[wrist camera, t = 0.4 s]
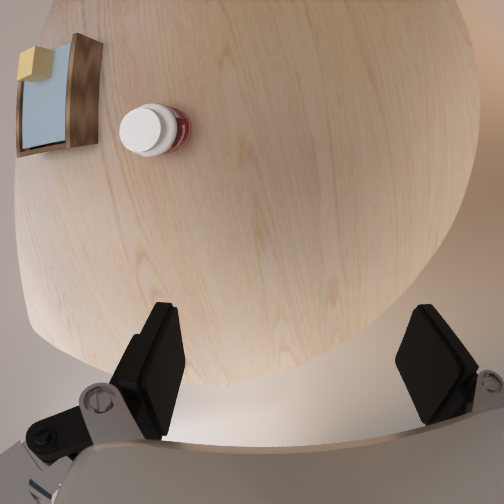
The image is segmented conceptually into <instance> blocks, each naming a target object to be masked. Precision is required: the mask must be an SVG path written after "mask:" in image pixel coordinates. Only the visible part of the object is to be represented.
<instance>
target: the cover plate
mask: <svg viewBox="0 0 504 504" xmlns="http://www.w3.org/2000/svg"><path fill="white" fill-rule="evenodd" d="M71 44H72V43H68V44H65V45H63V46H60V47H57V48H55V49H52V50H50V49H46V48H42V47H37V46H34V47H32V48H30V49H28V50H26V51H24V52H22V53H20V58H19V66H18V74H17V81H24V93H23V115H22V140H23V149H26V148H30V147H35V146H39V145H44V144H49V143H54V142H59V141H64V140H66V95H67V79H68V68H69V59H70V51H71Z"/></svg>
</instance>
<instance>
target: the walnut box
mask: <svg viewBox="0 0 504 504" xmlns="http://www.w3.org/2000/svg"><path fill="white" fill-rule="evenodd" d="M102 47H103V44H102V43H100V42H98V41H95V40H93V39H91V38H89V37H86V36H84V35H82V34H79V33H75V34H73V37H72V44H71V51H70V59H69V68H68V79H67V95H66V140H64V141H59V142H54V143H49V144H44V145H39V146H35V147H30V148H26V149H23V140H22V115H23V93H24V81H18V91H17V108H16V109H17V110H16V148H17V158H19V157H23V156H28V155H33V154H38V153H43V152H48V151H53V150H59V149H65V148H71V147H77V146H83V145H89V144H95V143H98V96H99V79H100V66H101V56H102Z"/></svg>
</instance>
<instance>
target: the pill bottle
mask: <svg viewBox="0 0 504 504" xmlns="http://www.w3.org/2000/svg"><path fill="white" fill-rule="evenodd" d="M190 131H191V127H190V122H189V119H188V118H187V116H186V115H185V114H184V113H183V112H181V111H180V110H178V109H175V108H171V107H168V106H164V105H161V104H155V103H149V104H145V105H142V106H140V107H138V108H137V109H134V110H132V111H130V112H129V113H128V114H127V115H126V116H125V117H124V118H123V120H122V122H121V125H120V130H119V133H120V139H121V141H122V143H123V145H124V146H125V147H126V148H127V149H129V150H130V151H133V152H135V153H136V154H138V155H140V156H144V157H154V156H158V155H162V154H166V153H170V152H174V151H176V150H178V149H180V148H181V147H182V146H184V144H185V143H186V142H187V140H188V138H189V136H190Z"/></svg>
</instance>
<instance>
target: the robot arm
mask: <svg viewBox="0 0 504 504" xmlns="http://www.w3.org/2000/svg"><path fill="white" fill-rule="evenodd" d="M395 364H396V366H397V368H398V370H399V372H400V375H401V377H402V379H403V381H404V383H405V385H406V387H407V390H408V392H409V394H410V396H411V398H412V401H413V403H414V405H415V407H416V410H417V412H418V414H419V417H420V419H421V421H422V423H424V424H426V426H425V427H421V428H416V429H412V430H408V431H404V432H400V433H395V434H390V435H385V436H380V437H375V438H369V439H363V440H356V441H349V442H341V443H332V444H322V445H310V446H294V447H235V446H215V445H202V444H191V443H181V442H171V441H161V439H162V435H163V436H166V435H167V433H168V430H169V426H170V422H171V418H172V414H173V410H174V406H175V403H176V399H177V395H178V391H179V387H180V383H181V380H182V376H183V372H184V368H185V355H184V349H183V343H182V336H181V330H180V323H179V316H178V309H177V307H173V305H172V303H164V302H156V304H155V306H154V308H153V309H152V311H151V313H150V315H149V317H148V319H147V321H146V323H145V325H144V327H143V329H142V331H141V333H140V334H135V335H134V336H133V337H132V339H131V341H130V343H129V344H128V346H127V348H126V350H125V352H124V354H123V356H122V358H121V360H120V362H119V364H118V366H117V368H116V370H115V372H114V374H113V376H112V378H111V380H110V382H109V384H108V383H96V384H92V385H90V386H88V387H87V388H86V389H85V390H83V392H82V393H81V395H80V398H79V406H76V407H74V408H71V409H69V410H66V411H64V412H61V413H59V414H56V415H54V416H51V417H48V418H45V419H43V420H40V421H38V422H36V423H34V424H32V425H31V427H29V429H28V431H27V433H26V441H24V442H23V443H22V442H21V441H18V442H17V443H16V444H15V445H13V446H12V447H10V448H9V449H7V450H6V451H5V452H3V453H2V454H1V455H0V504H52V503H51V498H52V495H53V494H54V492H55V491H56V490H58V489H59V490H58V493H57V496H56V499H55V502H54V504H504V382H503V379H502V378H501V377H500V376H499V375H498V374H497V373H496V372H493V371H491V370H483V371H481V372H480V373H479V374H477V373H476V371H477V370H478V368H479V366H478V365H477V363H476V362H475V360H474V359H473V357H472V356H471V355H470V353H469V352H468V351H467V349H466V348H465V347H464V345H463V344H462V342H461V341H460V340H459V338H458V337H457V336H456V335H455V333H454V332H453V330H452V329H451V328H450V327H449V325H448V324H447V323H446V321H445V320H444V319H443V318H442V316H441V315H440V314H439V313H438V311H437V310H436V309H435V308H434V307H433V305H431V304H421V305H418V306H417V308H415V309H414V310H413V313H412V316H411V318H410V321H409V324H408V327H407V329H406V332H405V335H404V337H403V340H402V343H401V345H400V347H399V350H398V352H397V355H396V358H395ZM60 483H61V486H60V485H59V484H60Z"/></svg>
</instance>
